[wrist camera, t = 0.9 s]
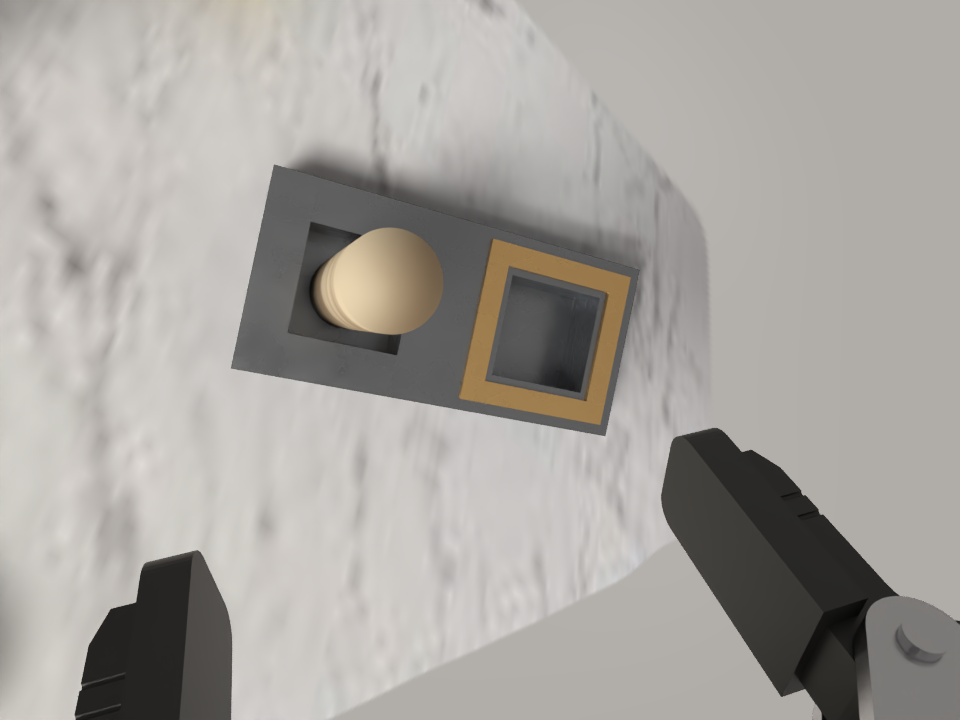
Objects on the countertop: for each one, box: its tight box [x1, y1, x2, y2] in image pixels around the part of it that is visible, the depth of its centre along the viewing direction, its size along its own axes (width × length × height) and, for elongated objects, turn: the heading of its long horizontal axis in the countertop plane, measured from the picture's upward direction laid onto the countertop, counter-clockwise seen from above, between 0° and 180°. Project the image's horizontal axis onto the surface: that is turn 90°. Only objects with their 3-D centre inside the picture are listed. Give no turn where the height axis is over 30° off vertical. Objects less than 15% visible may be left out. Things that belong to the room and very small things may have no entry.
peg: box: [309, 228, 443, 334], centre depth 30 cm, size 4×4×12 cm
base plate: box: [231, 165, 640, 436], centre depth 37 cm, size 21×10×4 cm, turn 78°
